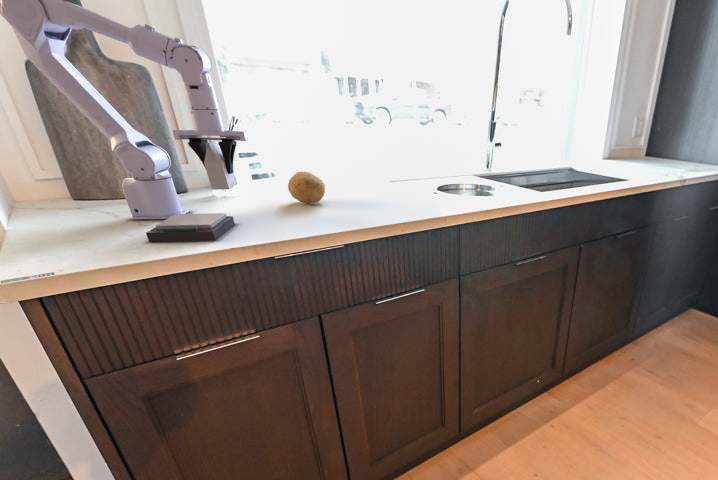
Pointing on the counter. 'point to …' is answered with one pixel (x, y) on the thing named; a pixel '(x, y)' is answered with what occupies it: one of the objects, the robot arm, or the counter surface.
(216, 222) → the scale
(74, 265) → the counter surface
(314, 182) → the potato
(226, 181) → the grey angular block
